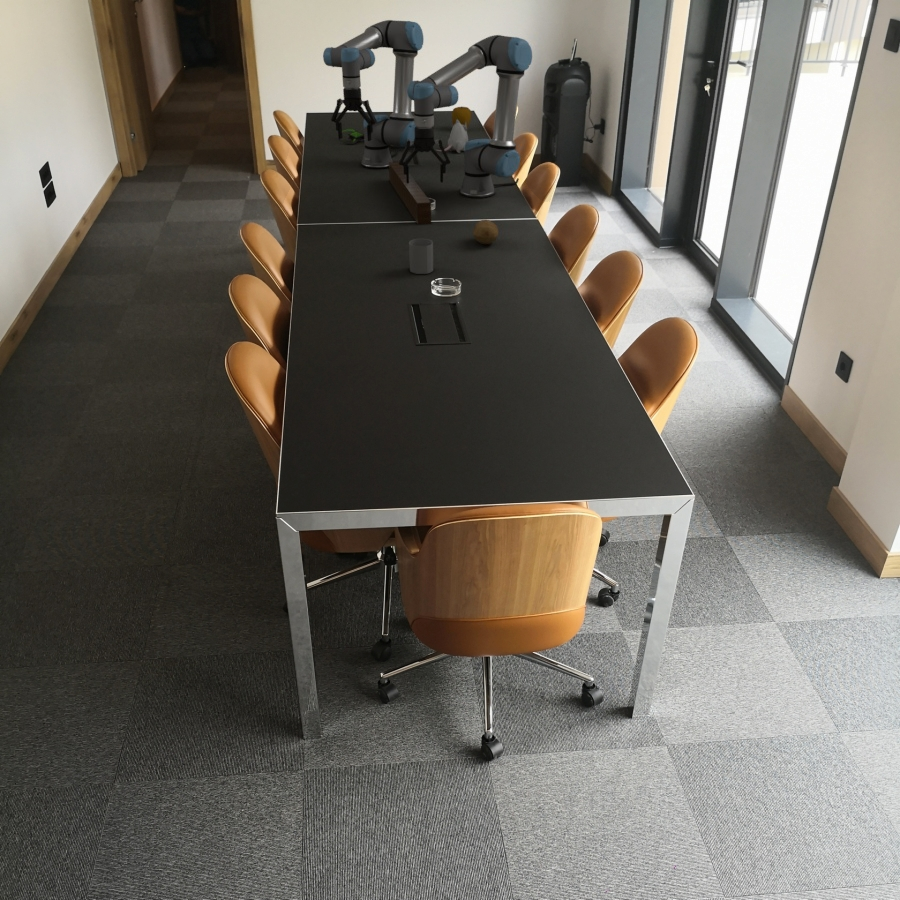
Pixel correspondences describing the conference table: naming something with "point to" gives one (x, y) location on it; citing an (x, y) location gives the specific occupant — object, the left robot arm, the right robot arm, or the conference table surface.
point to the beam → (410, 194)
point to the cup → (421, 256)
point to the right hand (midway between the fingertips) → (424, 182)
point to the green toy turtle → (353, 136)
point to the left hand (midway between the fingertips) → (355, 139)
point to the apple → (461, 115)
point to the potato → (485, 232)
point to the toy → (457, 138)
